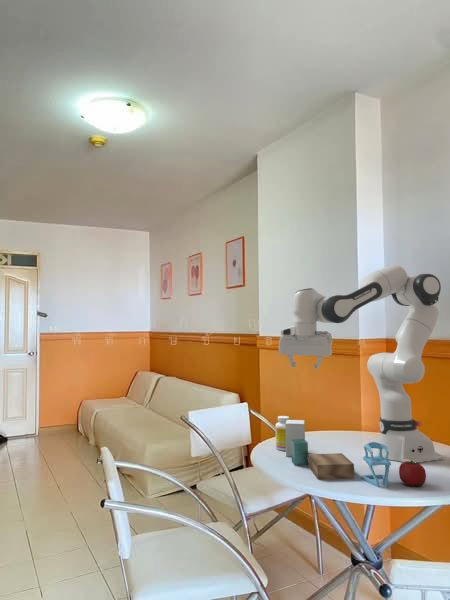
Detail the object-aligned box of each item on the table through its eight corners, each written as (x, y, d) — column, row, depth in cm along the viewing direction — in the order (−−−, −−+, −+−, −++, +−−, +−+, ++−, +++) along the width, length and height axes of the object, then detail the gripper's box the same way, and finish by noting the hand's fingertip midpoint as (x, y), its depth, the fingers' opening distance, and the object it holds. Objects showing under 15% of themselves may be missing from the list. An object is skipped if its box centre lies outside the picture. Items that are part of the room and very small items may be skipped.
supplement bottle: (293, 451, 171) (292, 418, 172) (276, 451, 172) (276, 418, 172) (291, 446, 178) (290, 415, 179) (275, 446, 178) (274, 415, 179)
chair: (370, 487, 132) (369, 448, 133) (360, 477, 140) (359, 440, 141) (395, 486, 132) (393, 447, 133) (383, 477, 141) (382, 440, 141)
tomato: (400, 478, 139) (400, 455, 140) (427, 482, 135) (426, 459, 136) (396, 486, 133) (395, 462, 133) (425, 491, 129) (424, 466, 129)
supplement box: (305, 457, 163) (304, 424, 164) (285, 456, 164) (284, 423, 165) (305, 452, 170) (304, 419, 171) (286, 451, 171) (286, 419, 172)
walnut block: (342, 467, 152) (341, 453, 152) (354, 479, 140) (353, 463, 140) (308, 468, 151) (308, 454, 152) (318, 480, 139) (317, 464, 140)
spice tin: (304, 461, 159) (304, 439, 159) (308, 465, 154) (307, 442, 154) (291, 461, 158) (291, 439, 159) (294, 465, 153) (294, 443, 154)
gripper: (334, 331, 159) (334, 368, 159) (283, 330, 170) (283, 365, 169) (328, 331, 154) (329, 370, 153) (276, 330, 165) (276, 366, 164)
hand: (304, 367), depth 161 cm, fingers open, 8 cm apart
